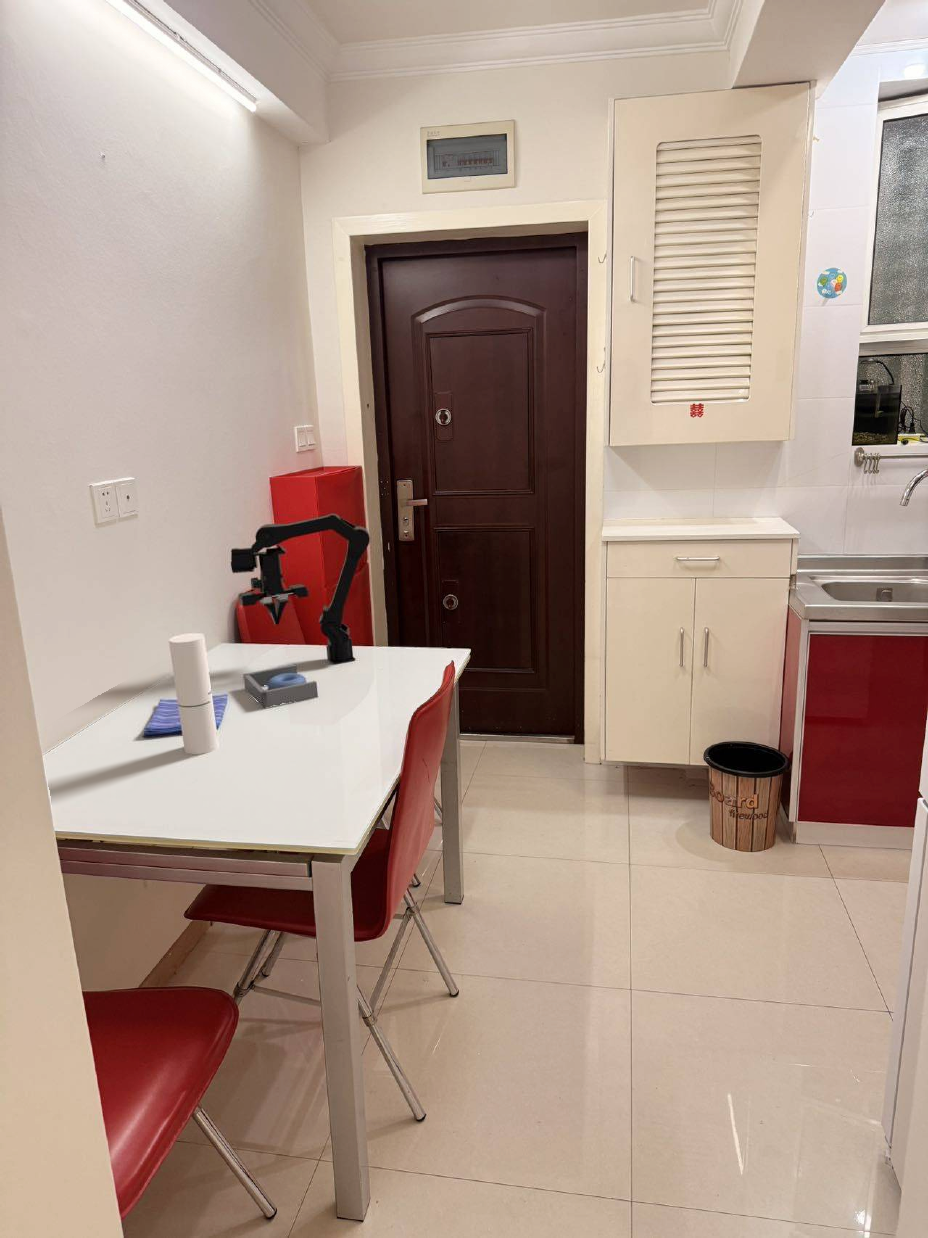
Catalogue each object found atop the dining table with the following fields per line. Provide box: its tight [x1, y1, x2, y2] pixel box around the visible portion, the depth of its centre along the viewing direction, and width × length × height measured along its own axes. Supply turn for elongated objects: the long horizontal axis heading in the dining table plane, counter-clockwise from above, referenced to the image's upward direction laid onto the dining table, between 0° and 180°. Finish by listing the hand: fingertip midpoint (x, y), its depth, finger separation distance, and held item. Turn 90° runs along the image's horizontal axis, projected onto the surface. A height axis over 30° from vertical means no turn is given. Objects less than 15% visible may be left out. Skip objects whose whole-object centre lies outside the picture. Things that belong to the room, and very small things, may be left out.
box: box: [243, 664, 319, 709], centre depth 217 cm, size 14×18×4 cm
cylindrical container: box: [168, 632, 220, 755], centre depth 181 cm, size 7×7×25 cm
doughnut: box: [267, 672, 307, 690], centre depth 219 cm, size 10×10×5 cm
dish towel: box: [142, 694, 229, 739], centre depth 204 cm, size 17×24×3 cm
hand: (276, 624), depth 239 cm, fingers closed
